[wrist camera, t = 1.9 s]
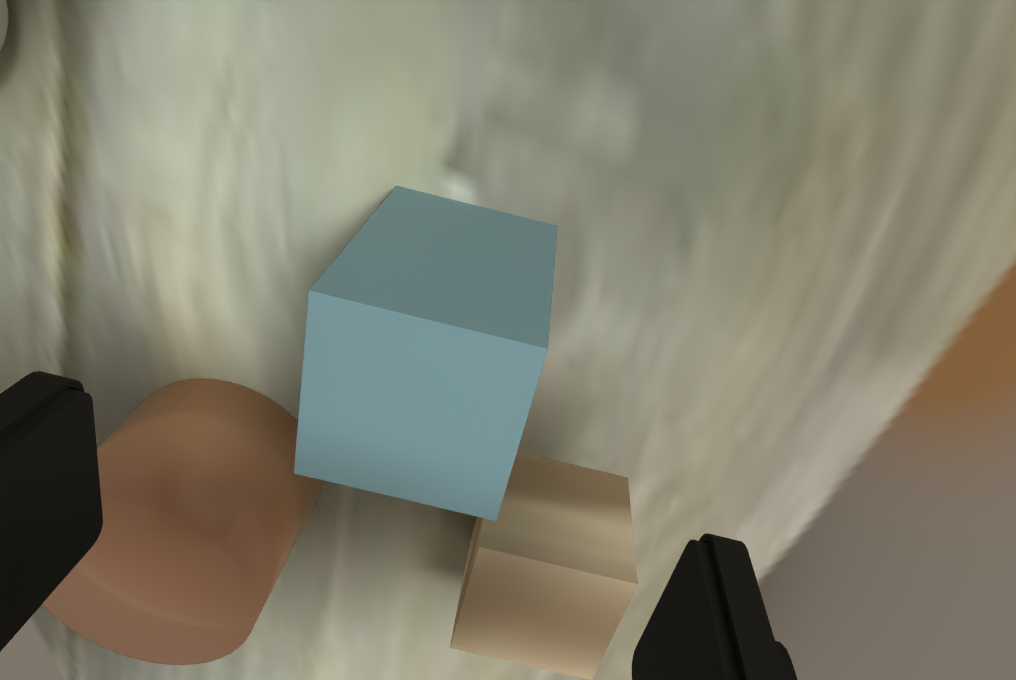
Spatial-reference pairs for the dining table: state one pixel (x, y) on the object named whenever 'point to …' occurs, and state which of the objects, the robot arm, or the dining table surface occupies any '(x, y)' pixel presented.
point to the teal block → (426, 352)
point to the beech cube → (549, 569)
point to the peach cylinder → (189, 524)
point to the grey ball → (3, 21)
